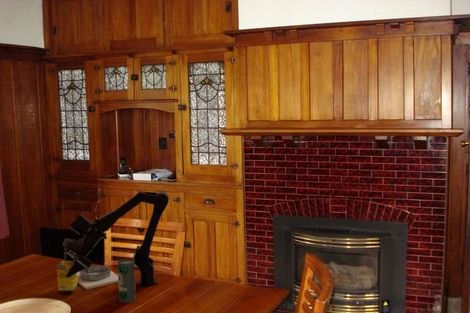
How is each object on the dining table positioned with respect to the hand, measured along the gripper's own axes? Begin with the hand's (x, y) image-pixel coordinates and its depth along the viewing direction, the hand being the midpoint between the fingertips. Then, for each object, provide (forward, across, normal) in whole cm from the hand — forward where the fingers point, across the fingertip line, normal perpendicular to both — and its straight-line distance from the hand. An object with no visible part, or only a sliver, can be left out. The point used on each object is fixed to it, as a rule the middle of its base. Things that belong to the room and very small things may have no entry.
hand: (63, 274), depth 207 cm
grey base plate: (-6, -10, +17) cm, 21 cm away
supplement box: (+4, 0, +6) cm, 7 cm away
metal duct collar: (-6, -10, +17) cm, 21 cm away
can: (-6, +22, +18) cm, 29 cm away
